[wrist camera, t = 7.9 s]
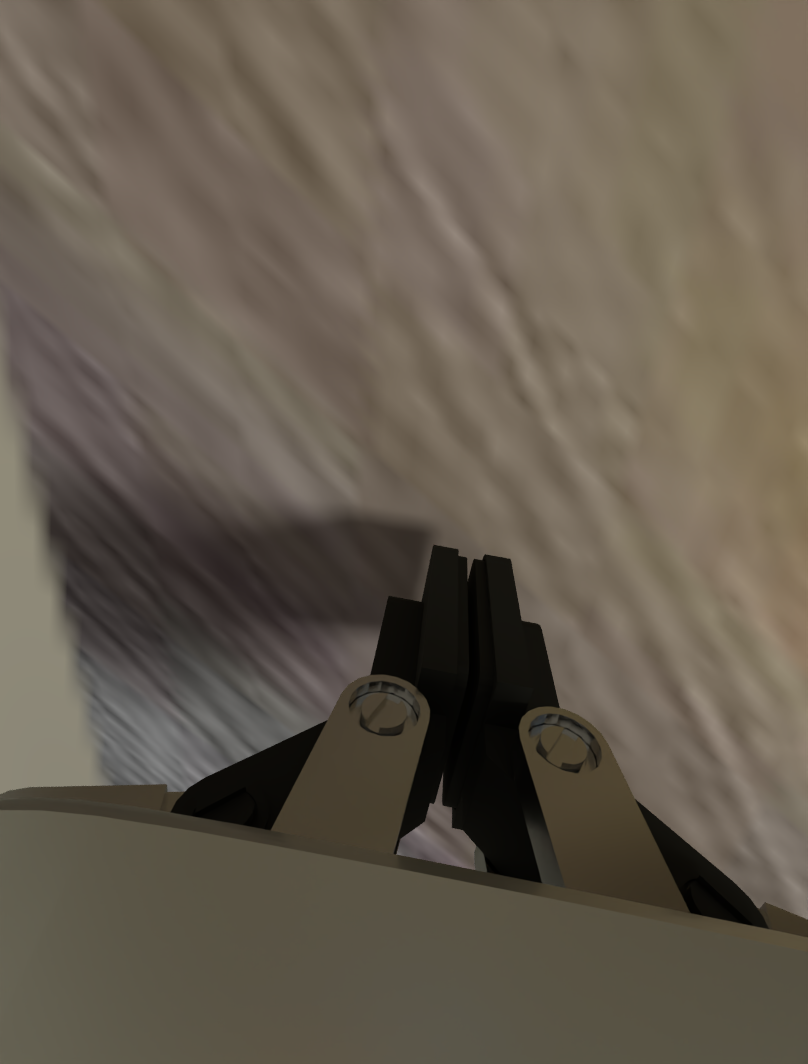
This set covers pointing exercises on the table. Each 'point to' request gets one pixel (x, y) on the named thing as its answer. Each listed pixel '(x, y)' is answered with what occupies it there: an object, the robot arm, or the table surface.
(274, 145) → the table surface
